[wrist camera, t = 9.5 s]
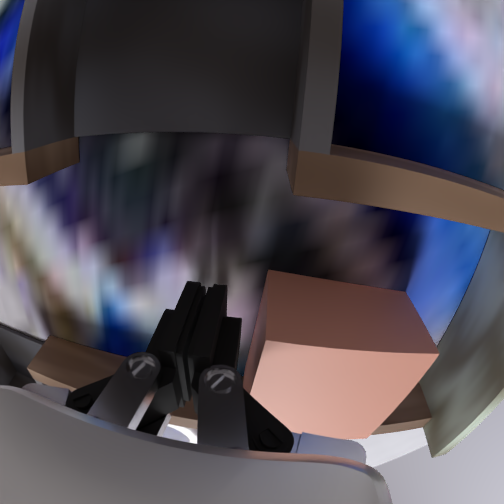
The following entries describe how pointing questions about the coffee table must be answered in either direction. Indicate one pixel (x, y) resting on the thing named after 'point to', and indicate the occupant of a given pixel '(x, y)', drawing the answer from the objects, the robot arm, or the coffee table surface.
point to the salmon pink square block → (334, 354)
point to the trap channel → (248, 123)
